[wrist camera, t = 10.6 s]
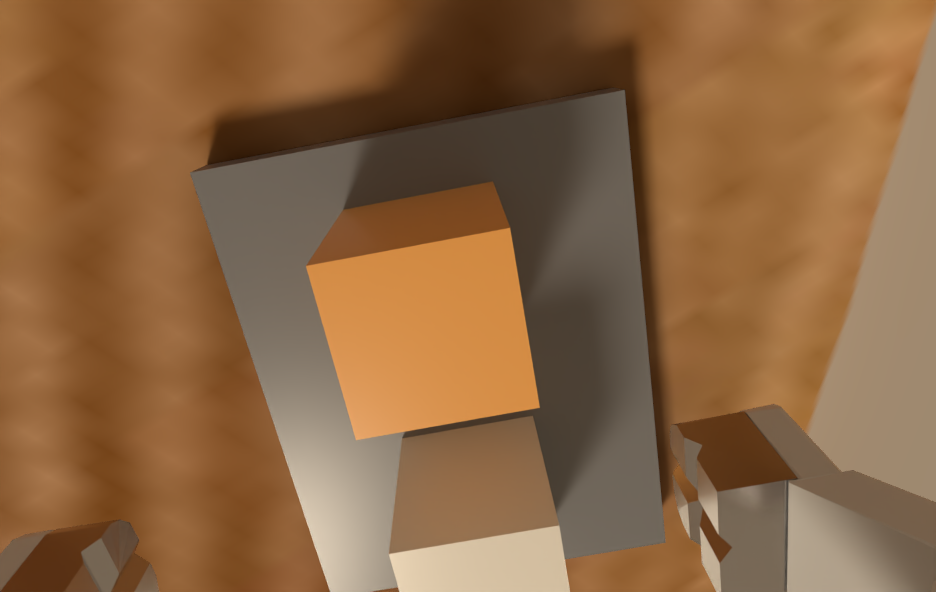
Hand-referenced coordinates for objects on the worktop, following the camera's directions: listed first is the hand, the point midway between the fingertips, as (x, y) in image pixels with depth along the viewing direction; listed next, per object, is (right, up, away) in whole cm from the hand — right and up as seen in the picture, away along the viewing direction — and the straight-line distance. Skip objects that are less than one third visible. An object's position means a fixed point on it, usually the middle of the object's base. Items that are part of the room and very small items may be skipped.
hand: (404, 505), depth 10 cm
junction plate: (+1, +1, +15) cm, 15 cm away
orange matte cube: (0, +4, +12) cm, 13 cm away
